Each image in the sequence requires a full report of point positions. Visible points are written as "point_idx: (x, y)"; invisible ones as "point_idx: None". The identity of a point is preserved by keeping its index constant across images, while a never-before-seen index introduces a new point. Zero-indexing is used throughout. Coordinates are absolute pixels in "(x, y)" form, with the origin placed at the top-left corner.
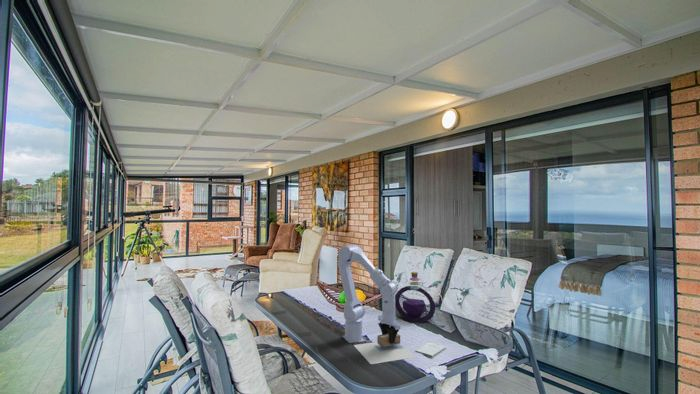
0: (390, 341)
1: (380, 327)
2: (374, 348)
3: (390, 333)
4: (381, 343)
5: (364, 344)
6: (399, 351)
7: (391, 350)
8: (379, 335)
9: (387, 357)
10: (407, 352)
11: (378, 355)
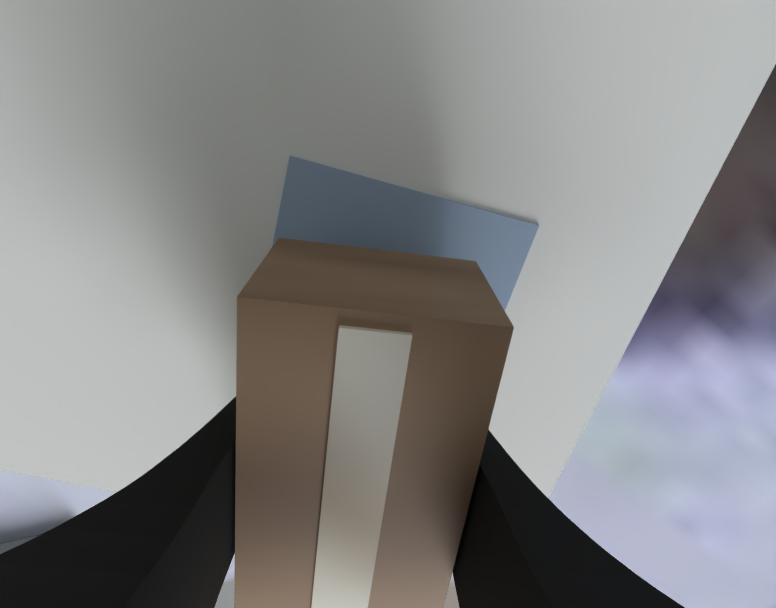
0: (217, 413)
1: (618, 588)
2: (450, 159)
3: (36, 538)
4: (328, 260)
5: (706, 118)
6: (146, 399)
7: (233, 334)
8: (482, 368)
9: (9, 101)
10: (73, 456)
11: (151, 8)
